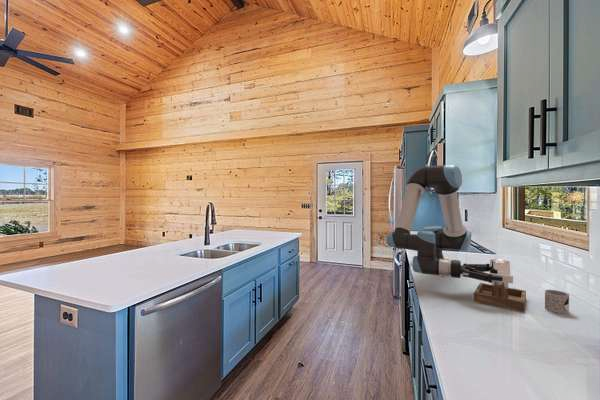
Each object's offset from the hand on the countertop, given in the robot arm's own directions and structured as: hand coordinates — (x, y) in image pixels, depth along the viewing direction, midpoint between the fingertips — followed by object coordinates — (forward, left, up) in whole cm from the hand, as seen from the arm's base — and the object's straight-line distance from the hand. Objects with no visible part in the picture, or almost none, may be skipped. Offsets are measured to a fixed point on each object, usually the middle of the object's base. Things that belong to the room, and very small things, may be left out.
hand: (510, 275), depth 113 cm
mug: (-2, +14, -11) cm, 18 cm away
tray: (+1, -3, -11) cm, 11 cm away
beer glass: (0, -3, -10) cm, 11 cm away
